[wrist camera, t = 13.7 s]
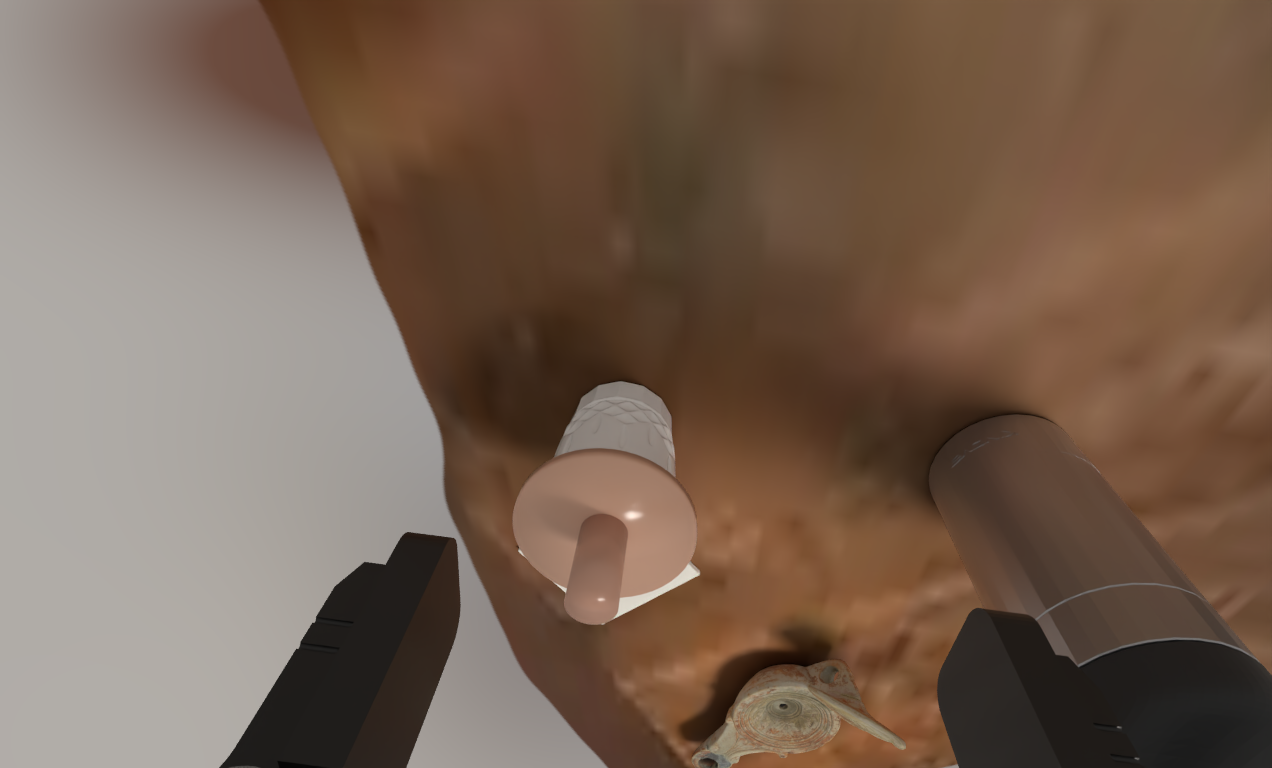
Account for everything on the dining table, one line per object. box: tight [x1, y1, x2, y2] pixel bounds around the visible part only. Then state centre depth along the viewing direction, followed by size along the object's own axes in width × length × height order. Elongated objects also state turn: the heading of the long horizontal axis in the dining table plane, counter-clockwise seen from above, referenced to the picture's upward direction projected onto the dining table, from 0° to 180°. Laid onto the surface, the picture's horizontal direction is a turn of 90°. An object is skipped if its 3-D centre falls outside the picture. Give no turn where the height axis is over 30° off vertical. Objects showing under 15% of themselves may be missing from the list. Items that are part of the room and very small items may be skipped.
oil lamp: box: [692, 659, 906, 768], centre depth 53 cm, size 9×21×10 cm, turn 142°
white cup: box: [554, 381, 676, 478], centre depth 41 cm, size 8×8×10 cm
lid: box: [512, 448, 697, 625], centre depth 34 cm, size 10×10×6 cm
